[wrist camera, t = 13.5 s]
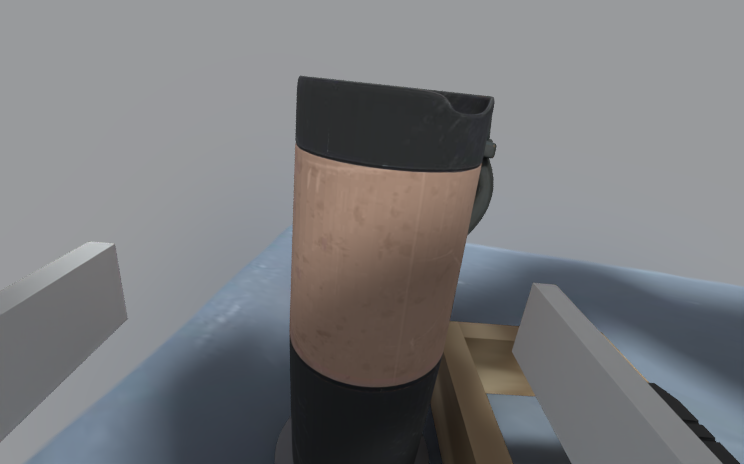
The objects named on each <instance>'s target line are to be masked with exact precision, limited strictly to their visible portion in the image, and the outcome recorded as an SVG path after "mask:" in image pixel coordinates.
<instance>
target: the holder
mask: <svg viewBox="0 0 744 464" xmlns="http://www.w3.org/2000/svg"><path fill="white" fill-rule="evenodd" d="M518 329H519V326H510V325H496V324H483V323H469V322H455V321H450V322H449V327H448V331H447V336H446V341H445V346H444V351H443V354H442V359H441V363H440V367H439V371H438V375H437V379H436V382H435V386H434V390H433V394H432V398H431V402H430V404H431V409H432V414H433V419H434V424H435V429H436V433H437V438H438V443H439V448H440V453H441V458H442V463H443V464H513V462H512V459H511V457H510V454H509V452H508V449H507V446H506V444H505V441H504V439H503V436H502V434H501V431H500V429H499V426H498V423H497V421H496V418H495V416H494V413H493V411H492V408H491V405H490V403H489V400H488V398H487V395H486V393H490V394H505V395H521V396H535V394H534V392H533V390H532V388H531V386H530V385H529V383H528V381H527V379H526V377H525V375H524V373H523V371H522V370H521V368H520V366H519V364H518V362H517V360H516V358H515V356H514V355H513V353H512V349H513V345H514V342H515V339H516V336H517V333H518ZM601 334H602V335H603V336H604V337H605V335H604V334H603V333H602V332H601ZM605 338H606V337H605ZM606 339H607V338H606ZM607 340H608V339H607ZM608 341H609V340H608ZM609 342H610V341H609ZM610 343H611V342H610ZM611 344H612V343H611ZM612 345H613V344H612ZM613 346H614V345H613ZM614 347H615V346H614ZM615 349H616V350H617V351H618V352H619V353H620V354H621V355H622V356H623V354H622V353H621V352H620V351H619V350H618V349H617V348H616V347H615ZM623 357H624V356H623ZM624 358H625V357H624ZM625 359H626V358H625ZM626 360H627V359H626ZM627 361H628V360H627ZM628 363H629V364H630V365H631V366H632V367H633V368H634V369H635V370H636V371H637V372H638V373H639V374H640V375H641V376H642V374H641V373H640V372H639V371H638V370H637V369H636V368H635V367H634V366H633V365H632V364H631V363H630V362H629V361H628ZM642 378H643V379H644V380H645V381H646V382H647V383H649V382H648V381H647V380H646V379H645V378H644V377H643V376H642Z"/></svg>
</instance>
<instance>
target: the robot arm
mask: <svg viewBox="0 0 744 464" xmlns="http://www.w3.org/2000/svg"><path fill="white" fill-rule="evenodd" d="M126 320H127V312H126V306H125V300H124V295H123V289H122V283H121V277H120V271H119V265H118V259H117V253H116V248H115V244H112V243H101V242H91V241H89V242H87V243H85V244H83V245H82V246H80V247H78V248H76V249H75V250H73V251H71V252H69V253H67V254H65V255H64V256H62V257H60V258H58V259H57V260H55V261H53V262H51V263H49V264H48V265H46V266H44V267H43V268H41V269H39V270H37V271H35V272H33V273H32V274H30V275H28V276H26V277H24V278H22V279H21V280H19V281H17V282H15V283H14V284H12V285H10V286H8V287H6V288H5V289H3V290H1V291H0V442H1V441H2V440H3V439H4V438H5V437H6V436H7V435H8V434H9V433H10V432H11V431H12V430H13V429H14V428H15V427H16V426H17V425H18V424H20V423H21V422H22V421H23V420H24V419H25V418H26V417H27V416H28V415H29V414H30V413H31V412H32V411H33V410H34V409H35V408H36V407H37V406H38V405H39V404H40V403H41V402H42V401H43V400H44V399H45V398H46V397H47V396H48V395H49V394H51V392H53V391H54V390H55V389H56V388H57V387H58V386H59V385H60V384H61V383H62V382H63V381H64V380H65V379H66V378H67V377H68V376H69V375H70V374H71V373H72V372H73V371H74V370H75V369H76V368H77V367H78V366H79V365H81V364H82V363H83V362H84V361H85V360H86V359H87V358H88V357H89V356H90V355H91V354H92V353H93V352H94V351H95V350H96V349H97V348H98V347H99V346H100V345H101V344H102V343H103V342H104V341H105V340H106V339H107V338H108V337H109V336H110V335H111V334H113V333H114V331H116V329H118V328H119V327H120V326H121V325H122V324H123V323H124V322H125V321H126ZM512 353H513V355H514V356H515V358H516V360H517V362H518V364H519V366H520V368H521V370H522V371H523V373H524V375H525V377H526V379H527V381H528V383H529V385H530V386H531V388H532V390H533V392H534V394H535V396H536V398H537V400H538V401H539V403H540V405H541V407H542V409H543V411H544V413H545V415H546V417H547V418H548V420H549V422H550V424H551V426H552V428H553V430H554V432H555V433H556V435H557V437H558V439H559V441H560V443H561V445H562V447H563V448H564V450H565V452H566V454H567V456H568V458H569V460H570V462H571V463H572V464H740V463H739V462H738V461H737V460H736V459H735V458H734V457H733V456H732V455H731V454H730V453H729V452H728V451H727V450H726V449H725V448H724V446H723V445H722V444H721V443H720V442H716V441H715V437H714V436H713V435H712V434H711V433H710V432H709V431H708V430H707V429H706V428H705V427H704V426H703V425H699V423H698V420H697V419H696V418H695V417H694V416H693V415H692V414H691V413H690V412H689V411H688V410H687V409H686V408H685V407H684V406H683V405H682V404H681V403H680V401H678V400H677V399H676V398H674V397H673V396H671V395H670V394H669V393H667V392H666V391H664V390H663V389H662V388H660V387H659V386H657V385H656V384H655V383H647V382H646V381H645V380H644V379H643V378H642V376H641V375H640V374H639V373H638V372H637V371H636V370H635V369H634V368H633V367H632V366H631V365H630V364H629V363H628V361H627V360H626V359H625V358H624V357H623V356H622V355H621V354H620V353H619V352H618V351H617V350H616V349H615V347H614V346H613V345H612V344H611V343H610V342H609V341H608V340H607V339H606V338H605V337H604V336H603V335H602V334H601V332H600V331H599V330H598V329H597V328H596V327H595V326H594V325H593V324H592V323H591V322H590V321H589V320H588V318H587V317H586V316H585V315H584V314H583V313H582V312H581V311H580V310H579V309H578V308H577V307H576V306H575V305H574V303H573V302H572V301H571V300H570V299H569V298H568V297H567V296H566V295H565V294H564V293H563V292H562V291H561V289H560V288H559V287H558V286H557V285H553V284H542V283H533V284H532V288H531V291H530V294H529V297H528V300H527V304H526V307H525V310H524V313H523V317H522V320H521V323H520V326H519V329H518V333H517V336H516V339H515V342H514V345H513V349H512Z"/></svg>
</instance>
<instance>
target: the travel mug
mask: <svg viewBox="0 0 744 464" xmlns="http://www.w3.org/2000/svg"><path fill="white" fill-rule="evenodd" d="M493 108H494V98H493V97H490V96H481V95H472V94H463V93H454V92H445V91H436V90H427V89H418V88H408V87H399V86H390V85H381V84H372V83H362V82H353V81H344V80H334V79H325V78H316V77H306V76H300V77H299V79H298V85H297V109H296V145H295V174H294V205H293V237H292V269H291V301H290V378H291V429H292V456H293V463H294V464H414V463H415V459H416V456H417V452H418V448H419V444H420V441H421V437H422V433H423V429H424V425H425V421H426V417H427V413H428V410H429V406H430V402H431V398H432V394H433V390H434V386H435V382H436V379H437V375H438V371H439V367H440V363H441V359H442V354H443V351H444V346H445V341H446V336H447V331H448V327H449V322H450V317H451V312H452V307H453V302H454V297H455V292H456V287H457V283H458V278H459V273H460V268H461V263H462V258H463V253H464V248H465V243H466V238H467V234H468V229H469V224H470V219H471V214H472V209H473V204H474V199H475V194H476V190H477V185H478V180H479V175H480V170H481V163H482V160H483V155H484V151H485V146H486V141H487V136H488V131H489V126H490V121H491V117H492V113H493Z"/></svg>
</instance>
